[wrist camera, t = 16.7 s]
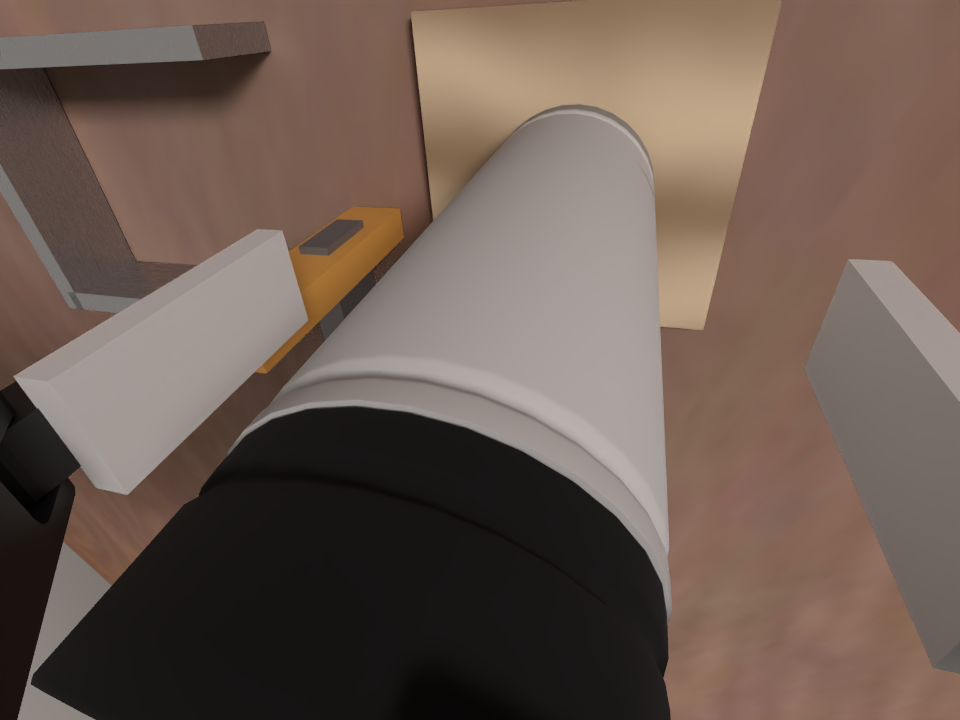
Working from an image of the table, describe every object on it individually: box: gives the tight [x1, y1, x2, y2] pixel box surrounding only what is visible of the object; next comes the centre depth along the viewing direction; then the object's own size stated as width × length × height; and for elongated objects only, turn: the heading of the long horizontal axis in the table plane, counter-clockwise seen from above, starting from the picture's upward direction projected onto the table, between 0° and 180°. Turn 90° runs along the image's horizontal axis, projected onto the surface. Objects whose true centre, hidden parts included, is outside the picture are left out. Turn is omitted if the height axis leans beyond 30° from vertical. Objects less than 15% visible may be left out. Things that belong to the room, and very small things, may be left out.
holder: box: [0, 22, 271, 313], centre depth 23 cm, size 12×14×4 cm
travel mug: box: [31, 104, 672, 720], centre depth 12 cm, size 6×7×20 cm
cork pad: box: [411, 0, 782, 330], centre depth 20 cm, size 12×12×1 cm
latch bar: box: [255, 207, 404, 374], centre depth 22 cm, size 13×2×11 cm, turn 3°
